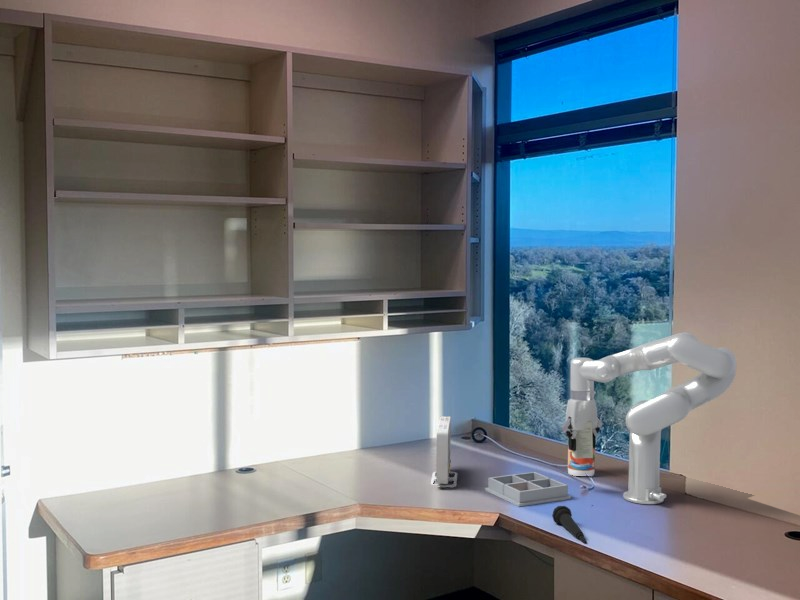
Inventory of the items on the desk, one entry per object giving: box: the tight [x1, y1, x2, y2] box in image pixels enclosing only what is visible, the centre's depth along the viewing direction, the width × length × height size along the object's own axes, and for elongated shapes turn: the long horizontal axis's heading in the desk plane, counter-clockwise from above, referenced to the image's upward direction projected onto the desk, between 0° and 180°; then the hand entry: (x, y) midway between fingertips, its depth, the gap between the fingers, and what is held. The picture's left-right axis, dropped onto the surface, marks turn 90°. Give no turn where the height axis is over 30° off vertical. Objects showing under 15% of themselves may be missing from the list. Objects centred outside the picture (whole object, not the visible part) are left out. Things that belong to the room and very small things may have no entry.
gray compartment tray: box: [484, 471, 572, 507], centre depth 272 cm, size 20×20×4 cm
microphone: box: [551, 505, 587, 544], centre depth 236 cm, size 6×6×20 cm
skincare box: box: [572, 421, 593, 459], centre depth 275 cm, size 6×4×12 cm
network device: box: [430, 415, 458, 488], centre depth 289 cm, size 26×9×20 cm, turn 175°
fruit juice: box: [567, 446, 596, 477], centre depth 297 cm, size 9×9×28 cm
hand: (582, 448), depth 275 cm, fingers closed on skincare box, 7 cm apart
